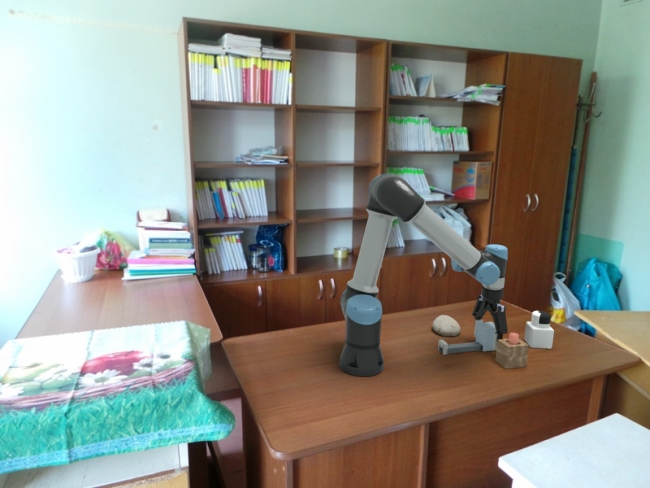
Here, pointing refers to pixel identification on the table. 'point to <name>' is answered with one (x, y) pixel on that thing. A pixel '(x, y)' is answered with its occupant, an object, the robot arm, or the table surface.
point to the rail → (458, 347)
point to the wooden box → (511, 354)
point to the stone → (446, 326)
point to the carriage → (485, 335)
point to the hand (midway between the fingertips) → (486, 342)
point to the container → (539, 330)
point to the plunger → (513, 338)
